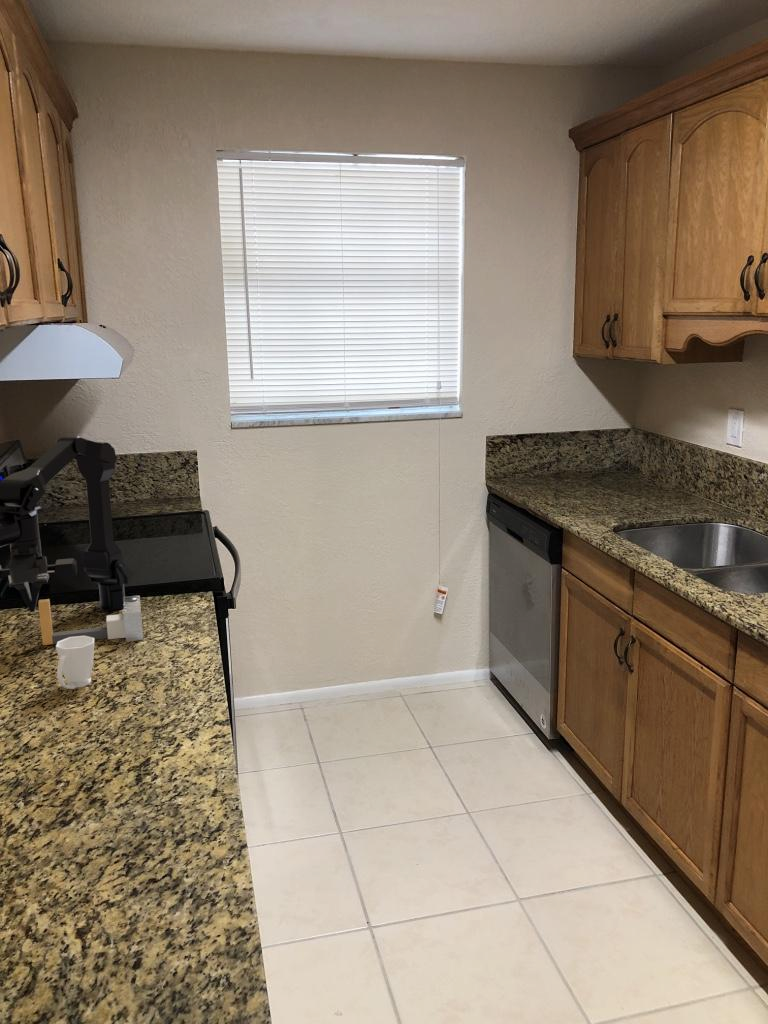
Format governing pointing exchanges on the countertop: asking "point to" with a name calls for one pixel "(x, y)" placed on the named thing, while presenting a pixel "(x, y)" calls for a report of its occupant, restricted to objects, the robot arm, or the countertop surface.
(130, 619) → the housing
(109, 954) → the countertop surface
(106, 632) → the multicoloured u-shaped piece
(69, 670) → the cup
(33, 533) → the robot arm
